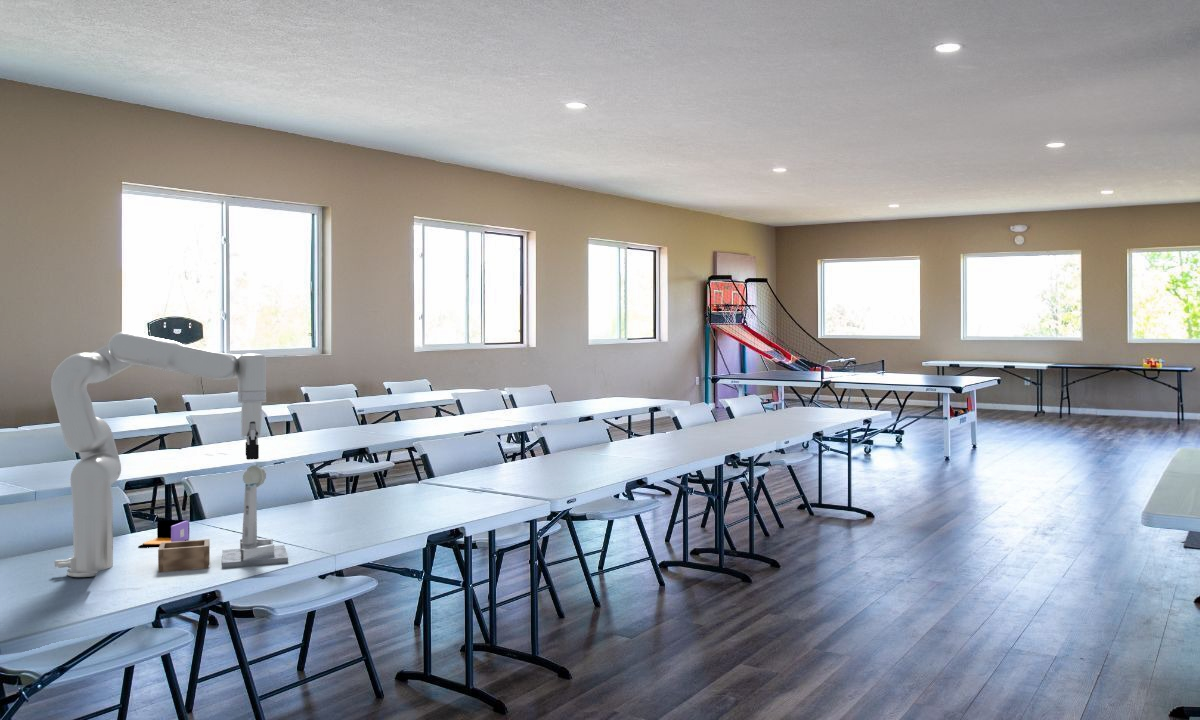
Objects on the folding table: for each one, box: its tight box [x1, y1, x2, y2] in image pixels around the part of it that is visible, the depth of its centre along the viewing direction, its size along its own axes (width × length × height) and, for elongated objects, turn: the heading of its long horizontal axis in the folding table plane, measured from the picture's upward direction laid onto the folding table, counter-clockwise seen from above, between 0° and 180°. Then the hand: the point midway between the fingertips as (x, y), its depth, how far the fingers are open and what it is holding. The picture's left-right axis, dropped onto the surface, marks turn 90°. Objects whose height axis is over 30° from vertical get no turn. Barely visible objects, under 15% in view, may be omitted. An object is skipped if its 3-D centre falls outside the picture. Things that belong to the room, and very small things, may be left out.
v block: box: [221, 538, 289, 569], centre depth 257 cm, size 17×18×4 cm
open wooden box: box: [157, 538, 211, 573], centre depth 248 cm, size 12×10×6 cm
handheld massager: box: [241, 464, 267, 549], centre depth 257 cm, size 5×7×25 cm
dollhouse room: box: [137, 519, 190, 549], centre depth 279 cm, size 12×12×7 cm
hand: (252, 457), depth 257 cm, fingers open, 9 cm apart
